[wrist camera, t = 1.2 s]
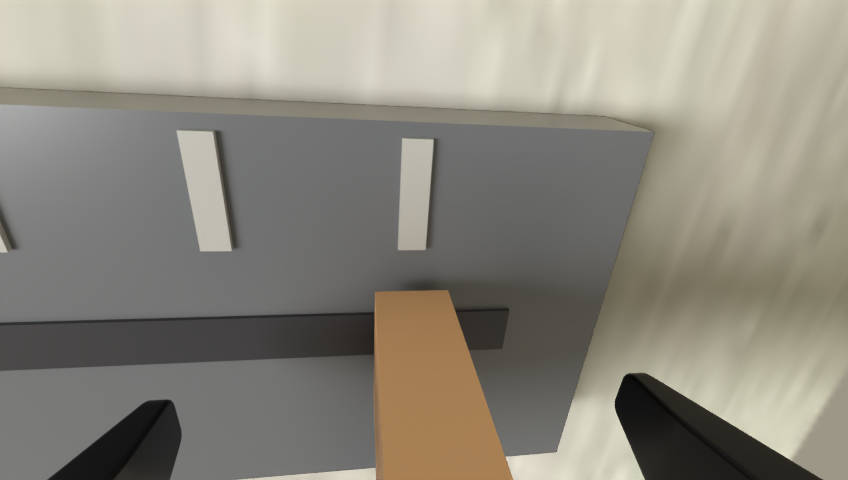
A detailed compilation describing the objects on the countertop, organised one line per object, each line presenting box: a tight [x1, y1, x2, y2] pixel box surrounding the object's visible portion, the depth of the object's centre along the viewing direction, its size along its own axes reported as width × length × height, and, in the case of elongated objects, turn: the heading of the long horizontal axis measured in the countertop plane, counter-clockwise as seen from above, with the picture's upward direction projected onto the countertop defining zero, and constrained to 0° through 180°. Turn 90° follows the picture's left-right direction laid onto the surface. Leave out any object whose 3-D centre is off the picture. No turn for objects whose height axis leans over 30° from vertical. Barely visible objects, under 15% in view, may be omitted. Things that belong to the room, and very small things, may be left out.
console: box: [0, 87, 654, 480], centre depth 10 cm, size 10×22×2 cm, turn 86°
